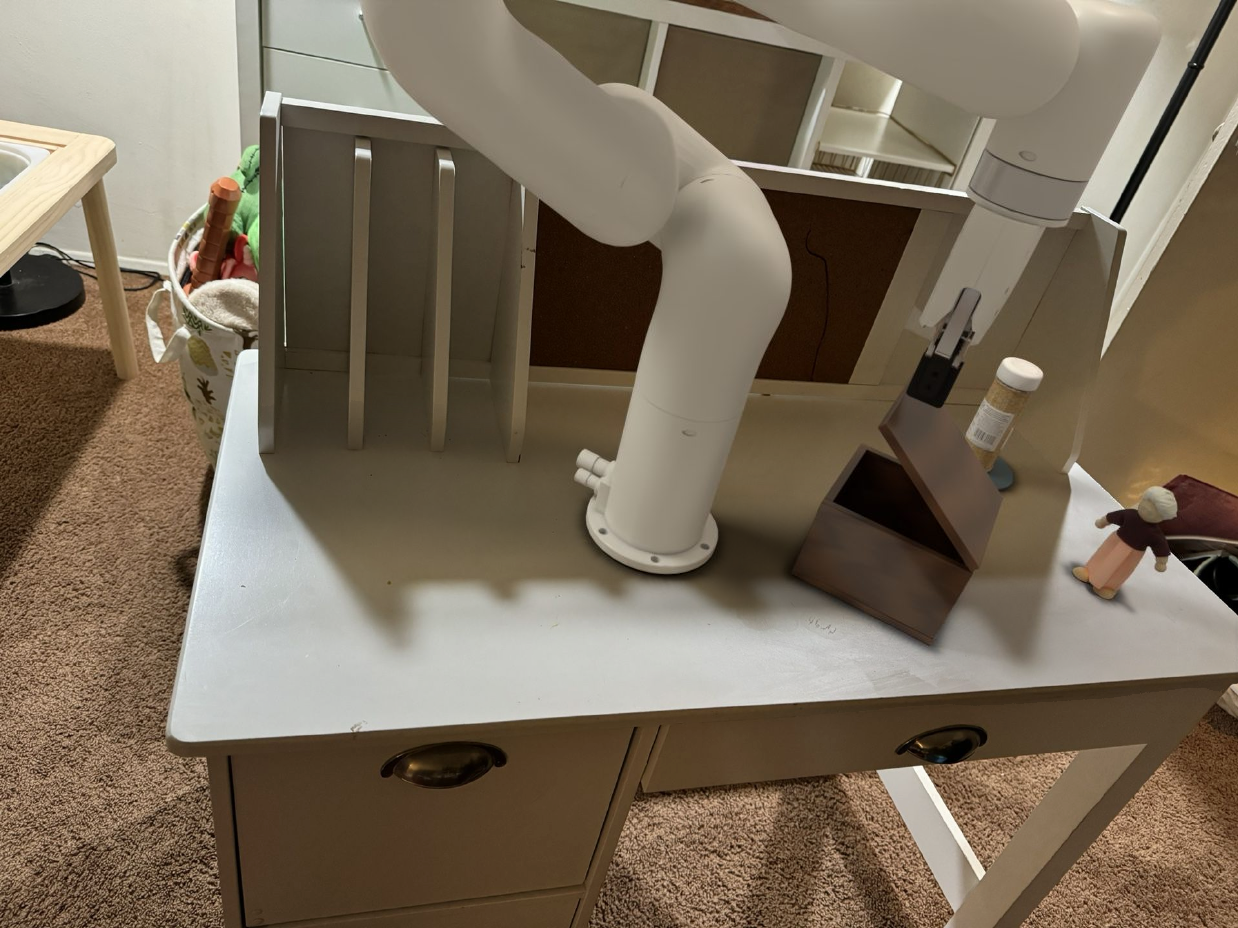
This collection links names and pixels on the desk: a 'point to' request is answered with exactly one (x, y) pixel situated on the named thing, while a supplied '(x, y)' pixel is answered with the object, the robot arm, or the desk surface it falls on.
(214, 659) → the desk surface
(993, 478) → the mat
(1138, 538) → the grandmother figurine
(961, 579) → the chest
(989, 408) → the sprinkles bottle
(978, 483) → the chest lid
